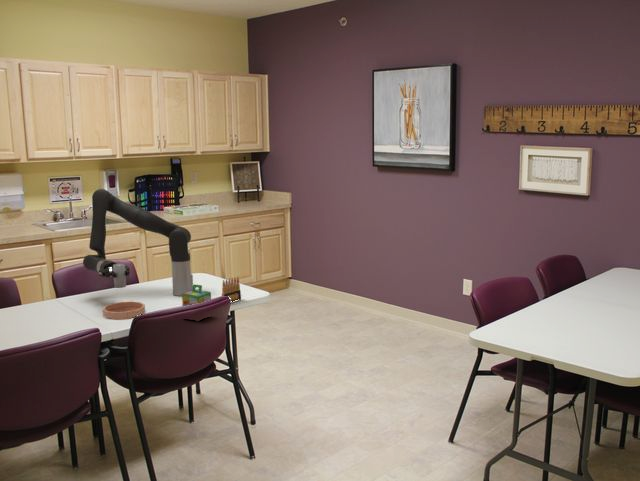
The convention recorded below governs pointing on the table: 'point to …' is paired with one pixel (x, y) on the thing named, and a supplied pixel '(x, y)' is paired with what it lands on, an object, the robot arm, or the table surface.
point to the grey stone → (119, 275)
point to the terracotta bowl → (123, 310)
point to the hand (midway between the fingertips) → (121, 274)
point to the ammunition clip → (231, 289)
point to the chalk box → (195, 296)
